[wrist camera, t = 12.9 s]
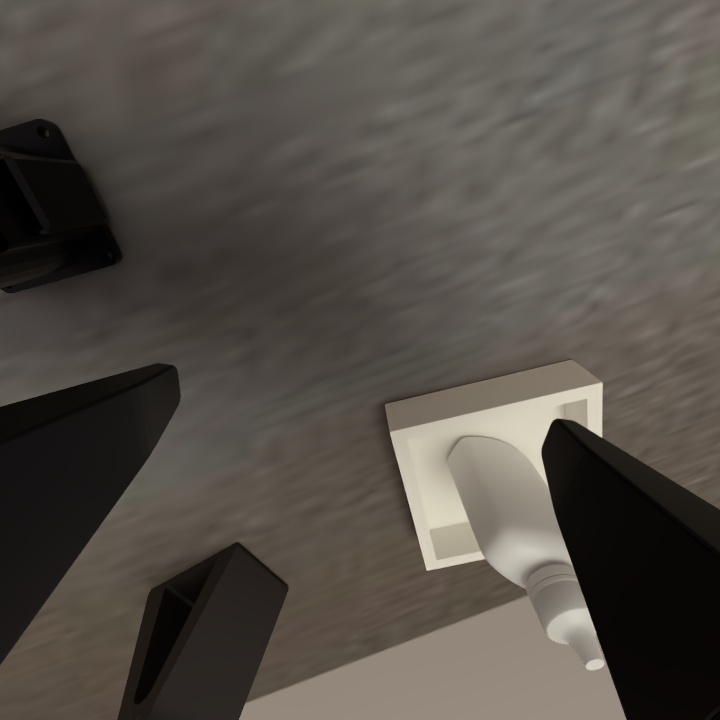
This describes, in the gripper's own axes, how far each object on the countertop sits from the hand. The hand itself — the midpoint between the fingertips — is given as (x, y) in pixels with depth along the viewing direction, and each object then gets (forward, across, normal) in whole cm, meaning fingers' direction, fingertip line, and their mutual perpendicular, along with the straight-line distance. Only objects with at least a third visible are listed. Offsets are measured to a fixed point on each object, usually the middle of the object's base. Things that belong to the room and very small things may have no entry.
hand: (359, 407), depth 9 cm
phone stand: (+11, +9, +26) cm, 29 cm away
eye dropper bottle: (+13, -8, +11) cm, 19 cm away
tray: (+14, -9, +11) cm, 20 cm away
